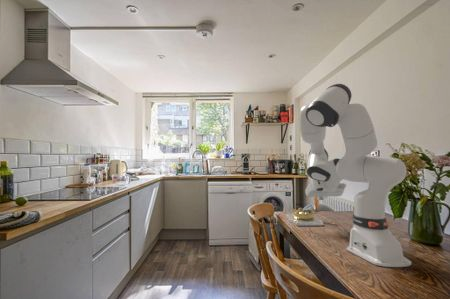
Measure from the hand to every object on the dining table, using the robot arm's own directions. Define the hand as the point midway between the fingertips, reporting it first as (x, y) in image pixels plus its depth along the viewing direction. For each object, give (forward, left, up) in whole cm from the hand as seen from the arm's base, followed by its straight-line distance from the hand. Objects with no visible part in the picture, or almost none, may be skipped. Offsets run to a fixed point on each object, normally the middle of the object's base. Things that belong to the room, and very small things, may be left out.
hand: (319, 199), depth 136 cm
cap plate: (+9, +6, -15) cm, 18 cm away
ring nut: (+9, +5, -12) cm, 16 cm away
